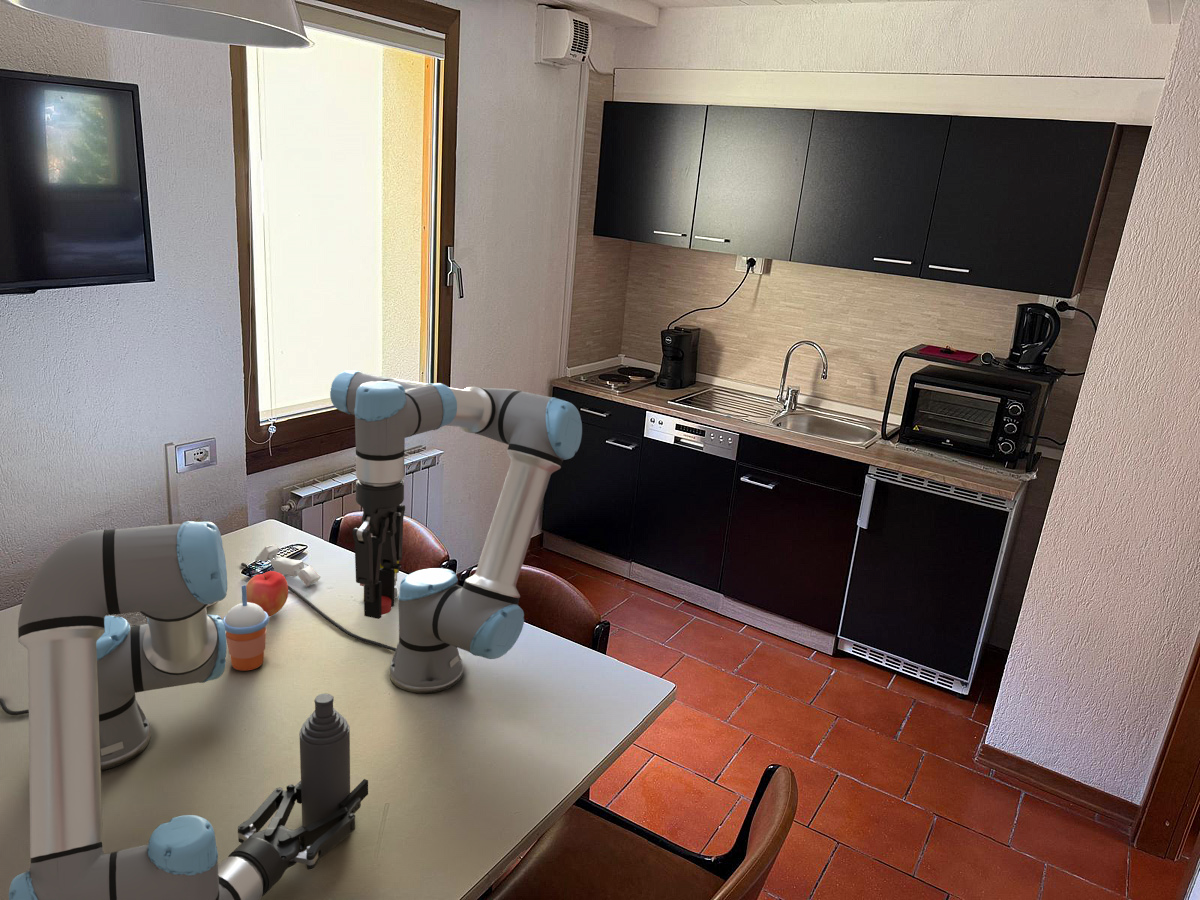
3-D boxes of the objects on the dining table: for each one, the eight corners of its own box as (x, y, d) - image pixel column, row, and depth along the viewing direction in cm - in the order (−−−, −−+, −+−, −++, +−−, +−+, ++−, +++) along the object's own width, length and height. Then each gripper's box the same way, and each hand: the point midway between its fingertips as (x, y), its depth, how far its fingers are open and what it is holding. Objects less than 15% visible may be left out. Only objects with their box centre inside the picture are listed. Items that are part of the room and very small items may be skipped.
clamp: (253, 565, 223) (254, 542, 221) (265, 560, 226) (266, 537, 224) (309, 593, 215) (310, 569, 213) (320, 588, 218) (321, 564, 216)
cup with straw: (254, 678, 176) (250, 599, 170) (215, 670, 177) (210, 592, 172) (279, 656, 184) (276, 580, 179) (241, 648, 186) (237, 573, 180)
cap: (394, 612, 143) (394, 603, 142) (371, 617, 141) (371, 608, 140) (386, 602, 146) (387, 593, 145) (364, 606, 144) (364, 598, 143)
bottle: (306, 851, 133) (302, 716, 126) (299, 820, 139) (294, 690, 132) (355, 838, 136) (353, 706, 129) (345, 808, 143) (343, 680, 135)
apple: (273, 600, 207) (272, 562, 204) (297, 613, 202) (296, 575, 199) (237, 614, 200) (234, 575, 197) (261, 628, 194) (259, 588, 191)
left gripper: (189, 874, 124) (294, 780, 145) (305, 923, 118) (398, 816, 138) (185, 832, 122) (293, 742, 142) (303, 879, 115) (398, 778, 136)
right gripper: (384, 460, 145) (383, 585, 152) (330, 491, 129) (332, 629, 136) (424, 467, 143) (422, 593, 150) (375, 499, 128) (375, 638, 135)
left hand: (345, 779), depth 140 cm, fingers closed on bottle, 7 cm apart
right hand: (379, 610), depth 143 cm, fingers closed on cap, 4 cm apart
